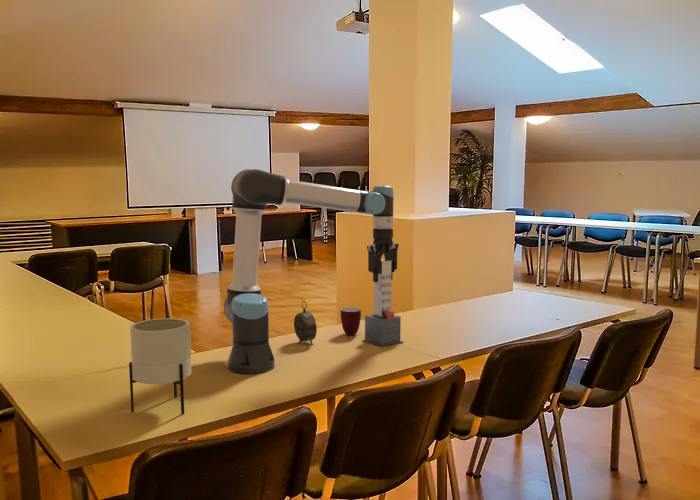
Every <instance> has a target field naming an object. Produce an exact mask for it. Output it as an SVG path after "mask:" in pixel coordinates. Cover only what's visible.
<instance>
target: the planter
mask: <svg viewBox="0 0 700 500" xmlns="http://www.w3.org/2000/svg"><path fill="white" fill-rule="evenodd" d="M129 333H130V335H129V336H130V337H129V338H130V353H131V355H130V357H131V358H130V359H131V362H128V365H129V366H128V367H129V368H128V369H129V372H128V374H129V393H130V410H131V411H130V413H134V412H135V407H134V406H135V405H134V404H135V403H134V385H133V384H134V383H140V384H144V385H163V384H164V385H165V384H170V383H171V384H172V383H173V396H174V398H177V397H178V387H177V386H178V385H179V389H180V390H179V391H180V394H179V395H180V415H182V414H183V415H185V395H184V394H185V392H184V391H185V390H184V380H185V379H186V378H188V377H189V376H190V375H192V348H191V345H192V344H191V324H190V321H189V320H186V319H183V318H177V317H176V318H174V317H173V318H172V317H171V318H170V317H169V318H168V317H167V318H166V317H165V318H153V319H145V320H140V321H137V322H135V323H133V324H131V325H130V326H129Z"/></svg>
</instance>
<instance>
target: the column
mask: <svg viewBox="0 0 700 500" xmlns="http://www.w3.org/2000/svg"><path fill="white" fill-rule="evenodd" d="M379 274H380V291H375V290H374V289H373V293H374V295H373V296H374V299H373V301H374V305H373V306H374V307H373V310H374V311H373V314H374V317H377V318H380V319H383V318H385V312H387V311H392V280H391V260H385V258H384V259H382V258H381V261H380V268H379Z"/></svg>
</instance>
